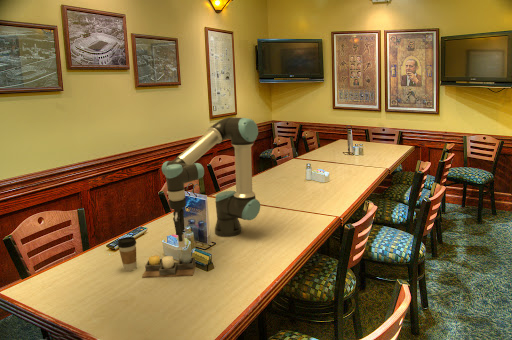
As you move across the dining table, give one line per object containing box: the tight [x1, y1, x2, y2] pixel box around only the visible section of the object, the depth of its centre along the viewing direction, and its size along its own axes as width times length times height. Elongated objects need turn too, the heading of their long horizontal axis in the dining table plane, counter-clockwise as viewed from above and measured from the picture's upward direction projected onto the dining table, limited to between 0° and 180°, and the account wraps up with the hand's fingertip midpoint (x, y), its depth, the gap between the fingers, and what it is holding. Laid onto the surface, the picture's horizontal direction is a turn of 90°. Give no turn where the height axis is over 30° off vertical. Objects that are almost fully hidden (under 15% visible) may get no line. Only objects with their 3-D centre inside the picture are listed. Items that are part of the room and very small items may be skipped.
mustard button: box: [148, 255, 161, 265], centre depth 208 cm, size 5×5×4 cm
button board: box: [141, 256, 197, 279], centre depth 206 cm, size 23×13×3 cm, turn 89°
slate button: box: [179, 250, 192, 264], centre depth 207 cm, size 5×5×4 cm
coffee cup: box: [117, 236, 138, 272], centre depth 209 cm, size 8×8×15 cm
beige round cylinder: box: [161, 255, 174, 269], centre depth 203 cm, size 5×5×4 cm
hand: (182, 246), depth 206 cm, fingers closed
